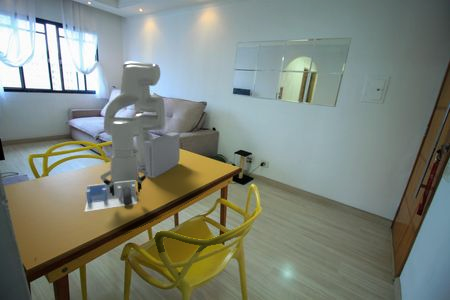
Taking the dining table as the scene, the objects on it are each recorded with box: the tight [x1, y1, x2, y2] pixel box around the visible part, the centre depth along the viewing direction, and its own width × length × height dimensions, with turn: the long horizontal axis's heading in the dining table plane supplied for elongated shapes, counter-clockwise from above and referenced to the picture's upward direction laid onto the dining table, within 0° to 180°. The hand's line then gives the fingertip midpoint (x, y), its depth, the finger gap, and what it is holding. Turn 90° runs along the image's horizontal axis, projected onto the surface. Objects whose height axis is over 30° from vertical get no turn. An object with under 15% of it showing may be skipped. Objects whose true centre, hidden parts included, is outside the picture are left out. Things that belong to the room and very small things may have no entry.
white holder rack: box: [84, 180, 138, 213], centre depth 93 cm, size 16×19×6 cm
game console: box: [145, 131, 181, 179], centre depth 126 cm, size 6×27×20 cm, turn 162°
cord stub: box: [123, 187, 132, 206], centre depth 94 cm, size 10×3×3 cm, turn 25°
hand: (126, 192), depth 89 cm, fingers open, 9 cm apart
